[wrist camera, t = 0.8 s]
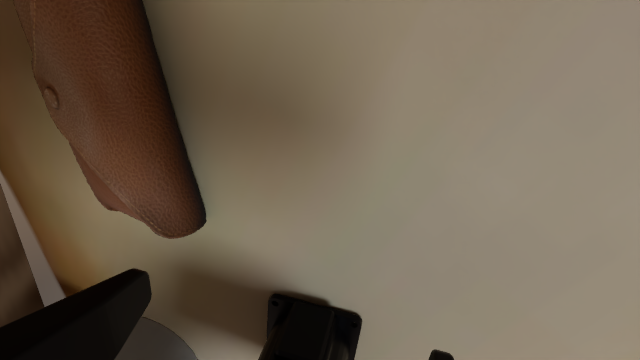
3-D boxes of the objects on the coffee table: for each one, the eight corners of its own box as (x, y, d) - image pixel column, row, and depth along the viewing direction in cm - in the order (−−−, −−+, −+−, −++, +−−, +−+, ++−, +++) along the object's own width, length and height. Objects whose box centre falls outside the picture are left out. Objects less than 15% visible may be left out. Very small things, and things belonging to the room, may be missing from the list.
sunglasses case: (-22, -87, 19) (-120, -134, 13) (126, -97, 20) (97, -143, 15) (108, 216, 27) (82, 273, 21) (208, 193, 28) (210, 239, 22)
